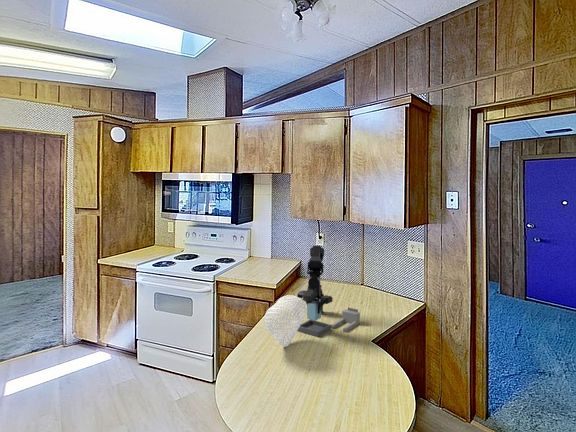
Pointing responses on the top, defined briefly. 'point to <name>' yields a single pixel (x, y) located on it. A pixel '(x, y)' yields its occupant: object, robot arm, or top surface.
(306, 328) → the tray
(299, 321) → the heart
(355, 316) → the dock
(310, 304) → the light blue block
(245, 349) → the top surface
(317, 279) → the robot arm
